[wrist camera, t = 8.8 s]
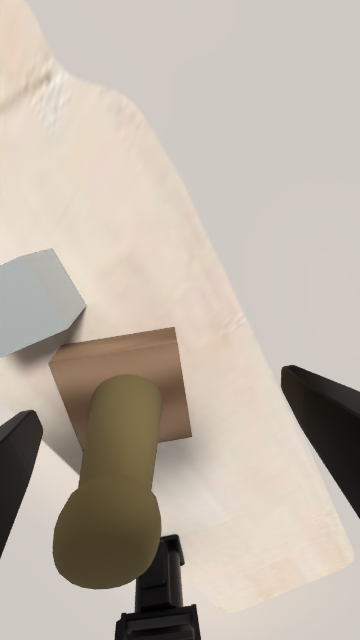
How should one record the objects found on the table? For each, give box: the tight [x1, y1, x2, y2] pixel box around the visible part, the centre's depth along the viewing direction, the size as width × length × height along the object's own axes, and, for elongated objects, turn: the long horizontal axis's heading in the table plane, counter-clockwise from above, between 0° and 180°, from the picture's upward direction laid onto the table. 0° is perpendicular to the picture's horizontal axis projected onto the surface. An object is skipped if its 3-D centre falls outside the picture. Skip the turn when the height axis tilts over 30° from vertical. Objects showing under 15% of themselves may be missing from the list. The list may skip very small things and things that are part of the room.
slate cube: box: [0, 248, 86, 358], centre depth 18 cm, size 5×5×5 cm
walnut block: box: [48, 327, 192, 452], centre depth 23 cm, size 10×10×3 cm
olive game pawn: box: [53, 374, 163, 589], centre depth 16 cm, size 6×6×11 cm
